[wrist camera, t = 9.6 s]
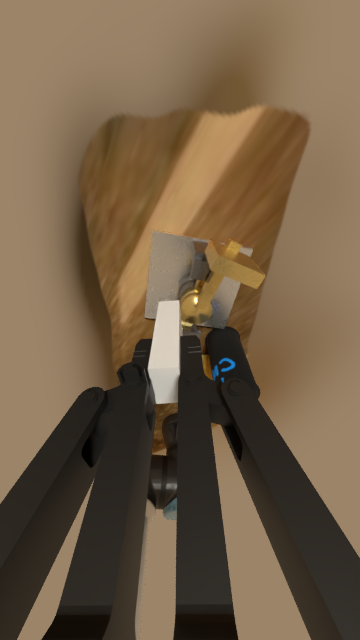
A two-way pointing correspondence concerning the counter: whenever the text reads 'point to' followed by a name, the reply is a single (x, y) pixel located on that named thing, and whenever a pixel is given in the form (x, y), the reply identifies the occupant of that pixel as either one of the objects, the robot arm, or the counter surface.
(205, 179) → the counter surface
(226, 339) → the aerosol can
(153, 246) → the socket base
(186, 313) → the gold branched bar piece
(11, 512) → the robot arm
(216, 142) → the counter surface
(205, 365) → the bread roll
